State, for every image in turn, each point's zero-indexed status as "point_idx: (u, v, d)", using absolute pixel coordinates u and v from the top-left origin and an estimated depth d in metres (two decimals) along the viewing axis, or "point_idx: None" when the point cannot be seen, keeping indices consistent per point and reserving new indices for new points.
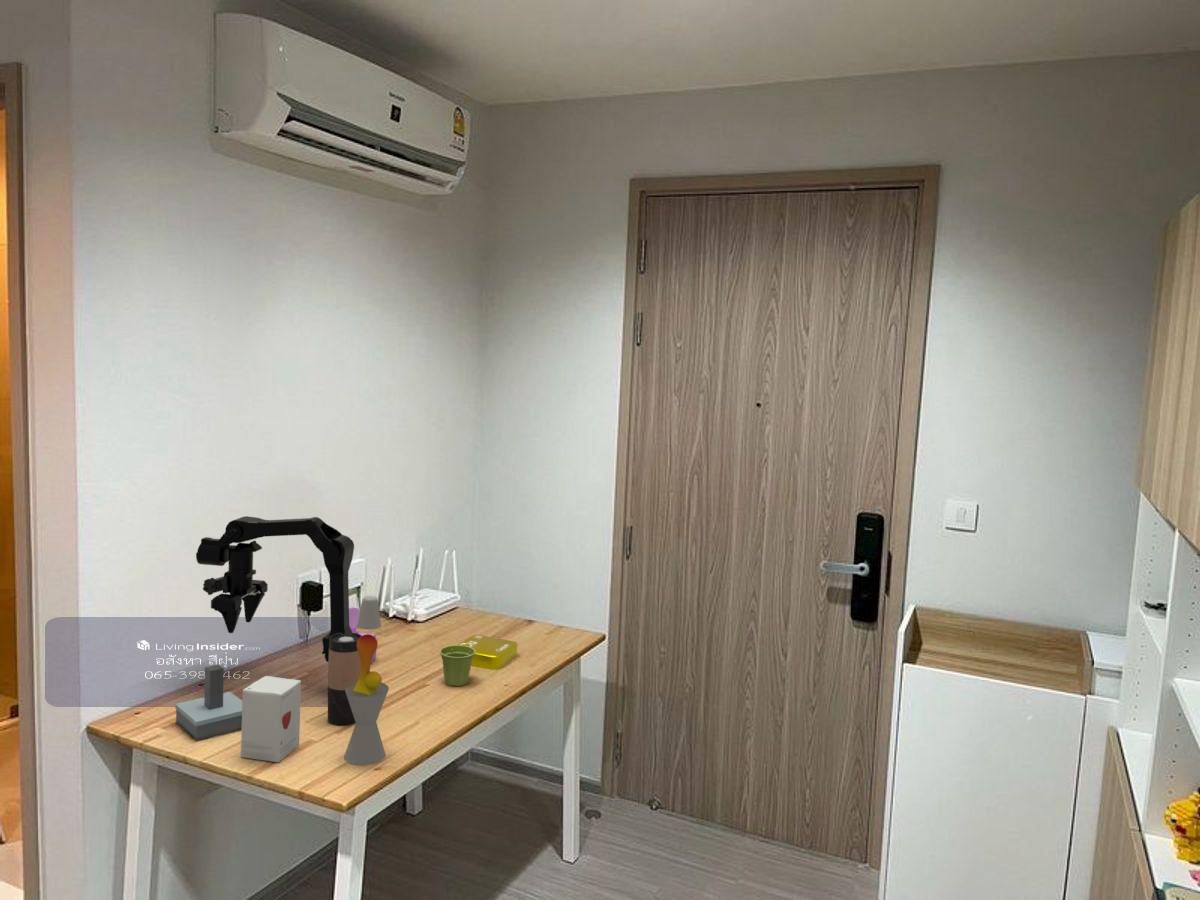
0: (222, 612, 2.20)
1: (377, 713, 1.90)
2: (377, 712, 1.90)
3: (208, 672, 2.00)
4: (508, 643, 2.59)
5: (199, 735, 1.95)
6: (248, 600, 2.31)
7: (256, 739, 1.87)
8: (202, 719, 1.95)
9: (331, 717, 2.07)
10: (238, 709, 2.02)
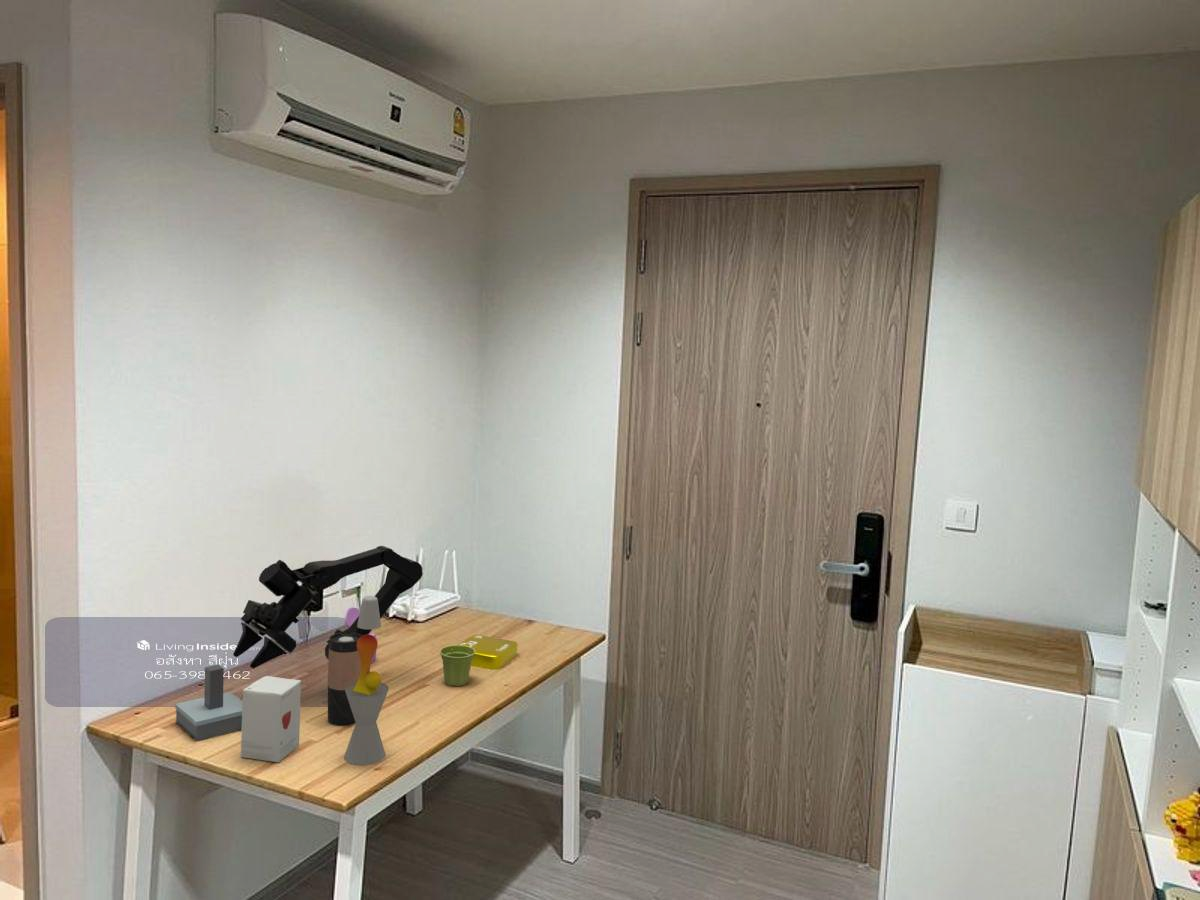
0: (268, 646, 2.03)
1: (377, 713, 1.90)
2: (377, 712, 1.90)
3: (208, 672, 2.00)
4: (508, 643, 2.60)
5: (199, 735, 1.95)
6: (250, 635, 2.12)
7: (256, 739, 1.87)
8: (202, 719, 1.95)
9: (331, 717, 2.07)
10: (238, 709, 2.02)
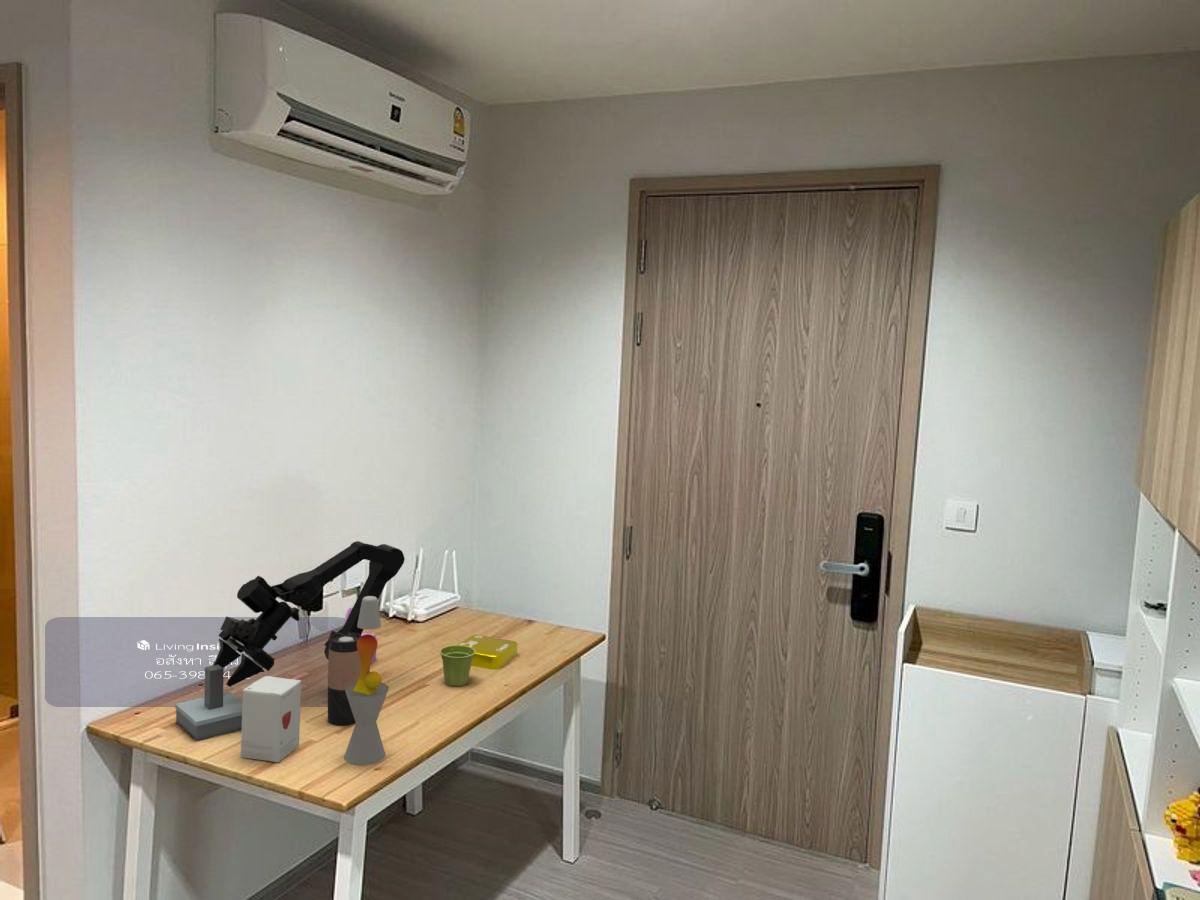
0: (245, 664, 2.00)
1: (377, 713, 1.90)
2: (377, 712, 1.90)
3: (208, 672, 2.00)
4: (508, 643, 2.60)
5: (199, 735, 1.95)
6: (227, 652, 2.09)
7: (256, 739, 1.87)
8: (202, 719, 1.95)
9: (331, 717, 2.07)
10: (238, 709, 2.02)
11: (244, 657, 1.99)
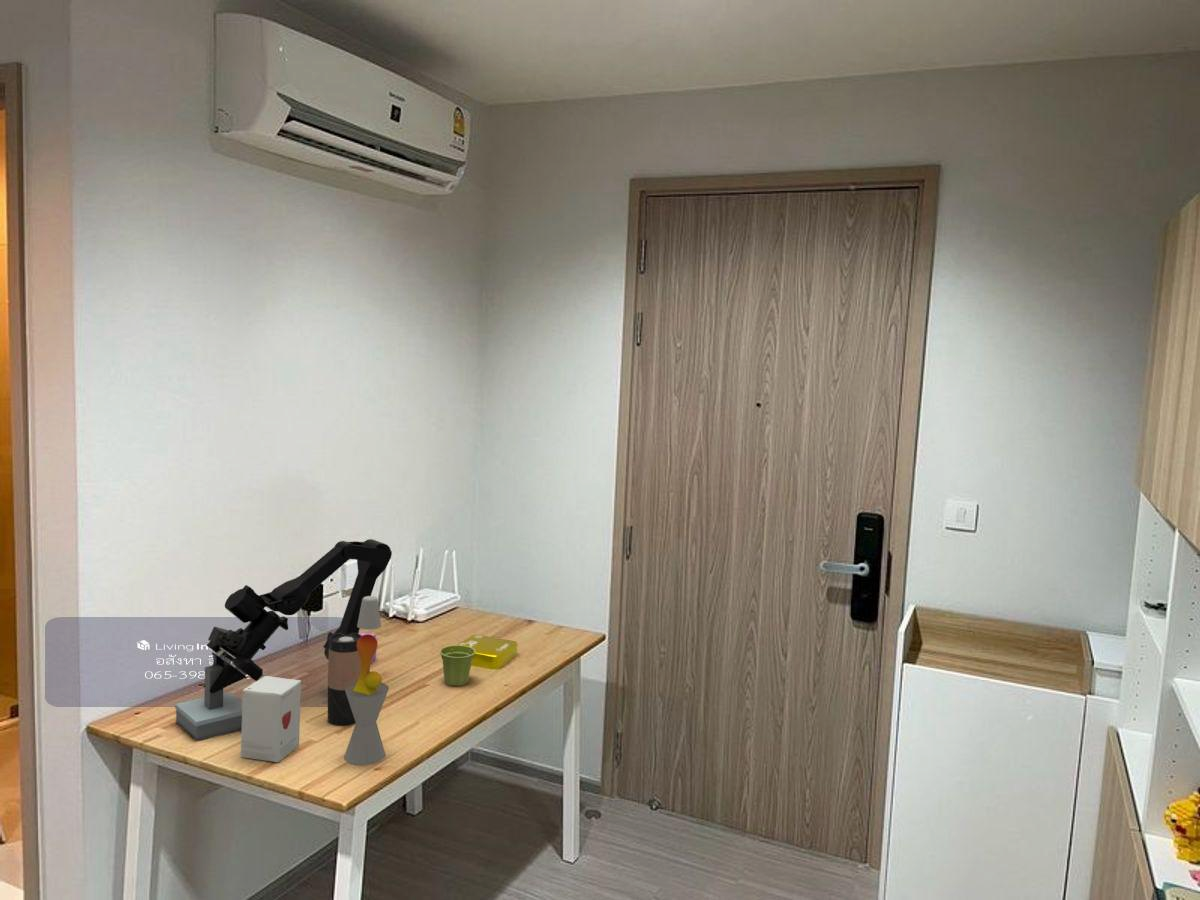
0: (228, 670, 2.00)
1: (377, 713, 1.90)
2: (377, 712, 1.90)
3: (208, 672, 2.00)
4: (508, 643, 2.60)
5: (199, 735, 1.95)
6: (221, 666, 2.05)
7: (256, 739, 1.87)
8: (202, 719, 1.95)
9: (331, 717, 2.07)
10: (238, 709, 2.02)
11: (226, 664, 2.00)
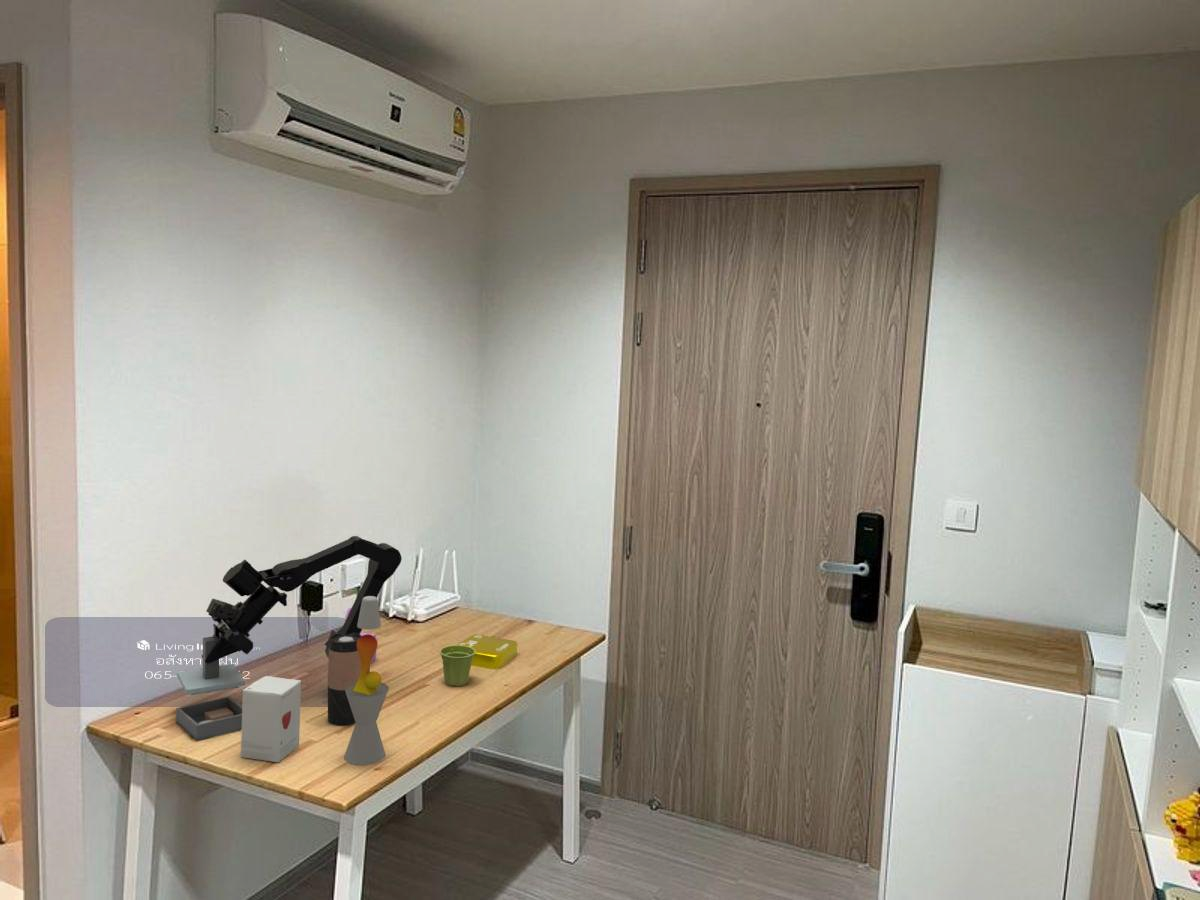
0: (222, 642, 2.04)
1: (377, 713, 1.90)
2: (377, 712, 1.90)
3: (204, 643, 2.05)
4: (508, 642, 2.60)
5: (199, 735, 1.95)
6: None
7: (256, 739, 1.87)
8: (193, 687, 2.00)
9: (331, 717, 2.07)
10: (232, 680, 2.05)
11: (220, 635, 2.04)
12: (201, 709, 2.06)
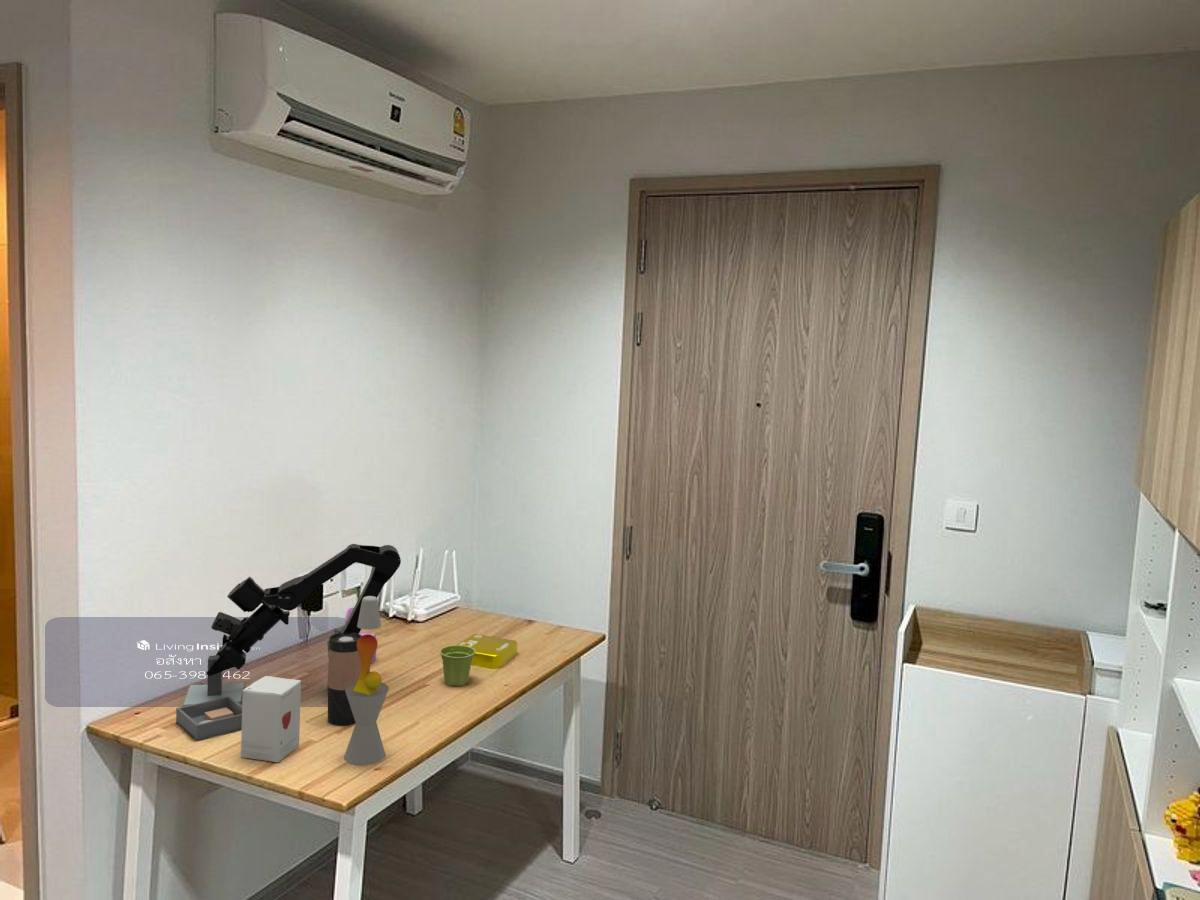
0: (221, 656, 2.12)
1: (377, 713, 1.90)
2: (377, 712, 1.90)
3: (208, 660, 2.14)
4: (508, 642, 2.60)
5: (199, 735, 1.95)
6: None
7: (256, 739, 1.87)
8: (191, 703, 2.10)
9: (331, 717, 2.07)
10: None
11: (219, 650, 2.11)
12: (201, 709, 2.06)
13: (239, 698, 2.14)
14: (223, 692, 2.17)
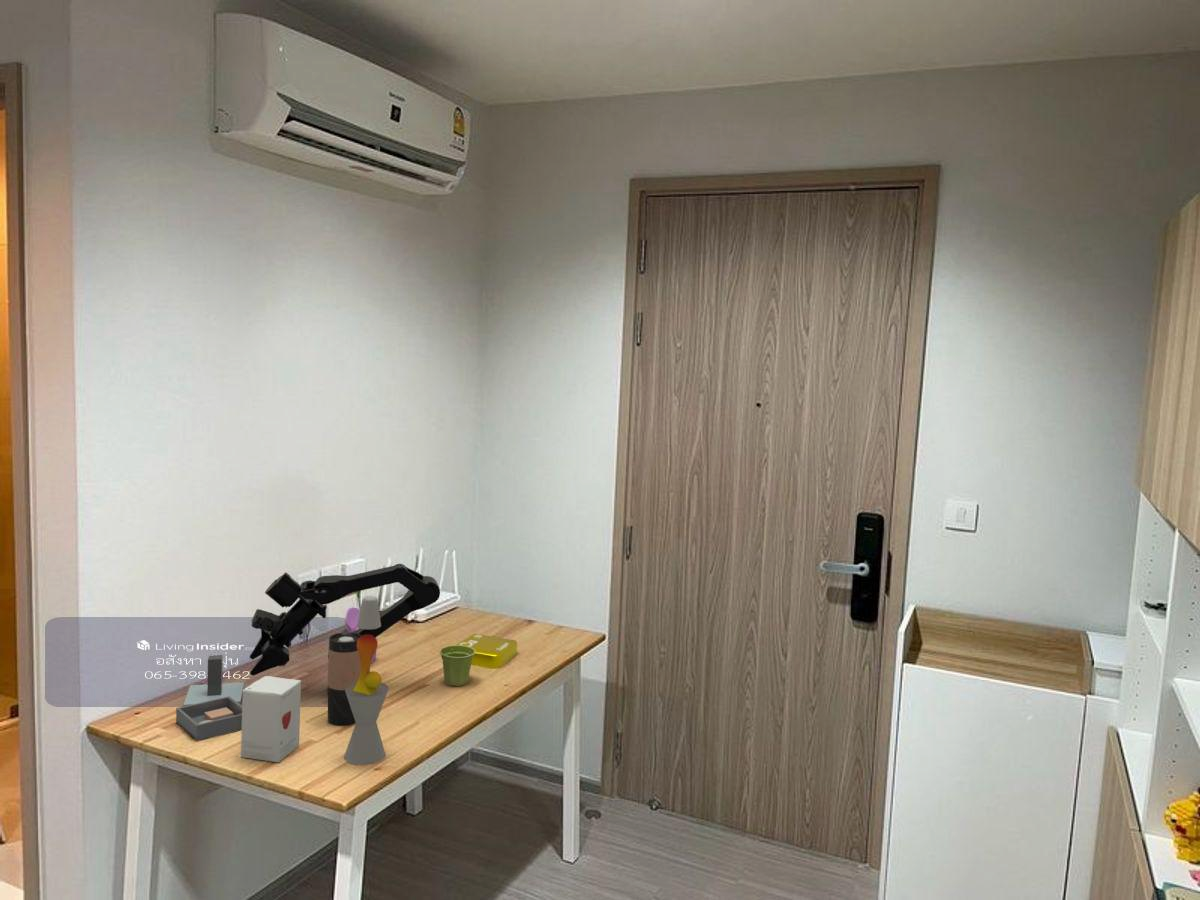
0: (264, 657, 2.13)
1: (377, 713, 1.90)
2: (377, 712, 1.90)
3: (208, 660, 2.14)
4: (508, 642, 2.60)
5: (199, 735, 1.95)
6: (266, 640, 2.24)
7: (256, 739, 1.87)
8: (191, 703, 2.10)
9: (331, 717, 2.07)
10: None
11: (262, 651, 2.13)
12: (201, 709, 2.06)
13: (239, 698, 2.14)
14: (223, 692, 2.17)
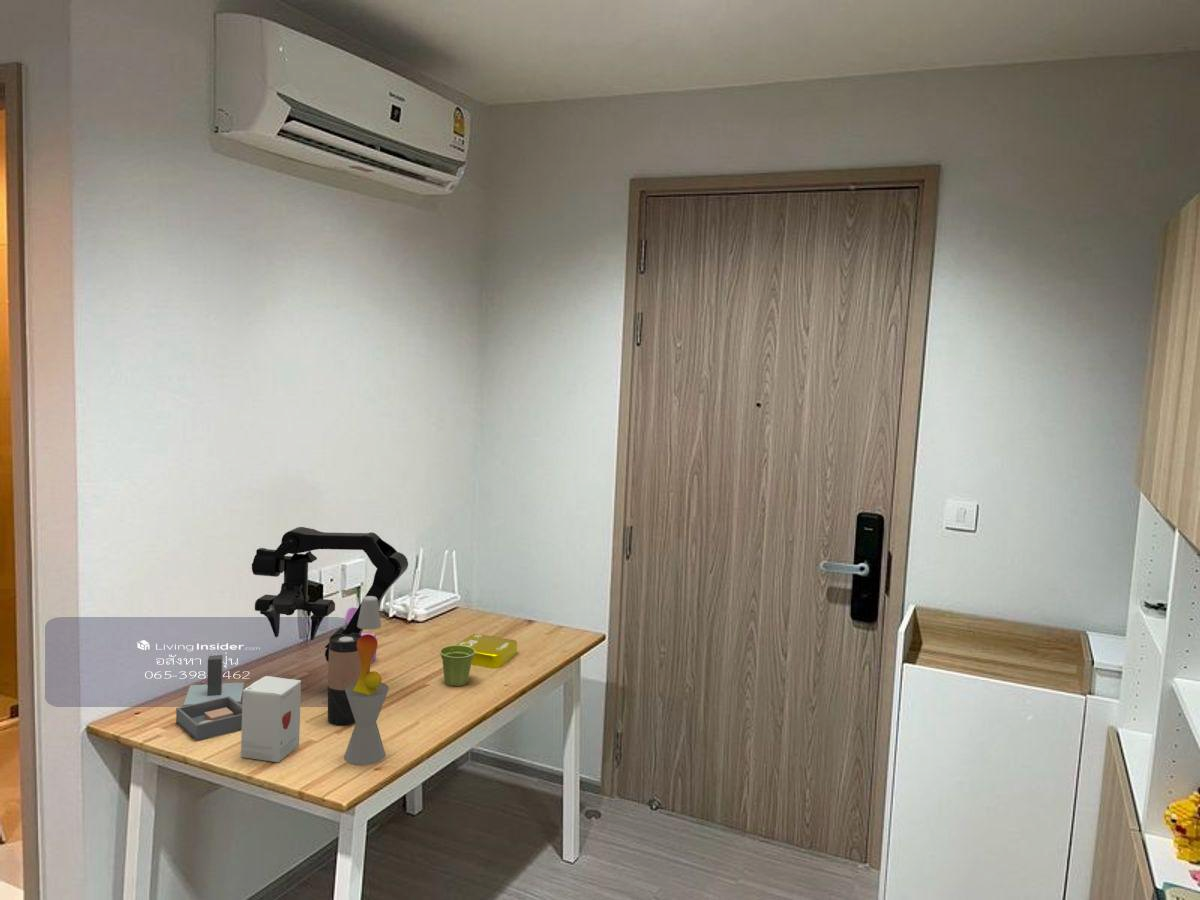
0: None
1: (377, 713, 1.90)
2: (377, 712, 1.90)
3: (208, 660, 2.14)
4: (508, 642, 2.61)
5: (199, 735, 1.95)
6: (275, 615, 2.25)
7: (256, 739, 1.87)
8: (191, 703, 2.10)
9: (331, 717, 2.07)
10: None
11: (316, 618, 2.22)
12: (201, 709, 2.06)
13: (239, 698, 2.14)
14: (223, 692, 2.17)
